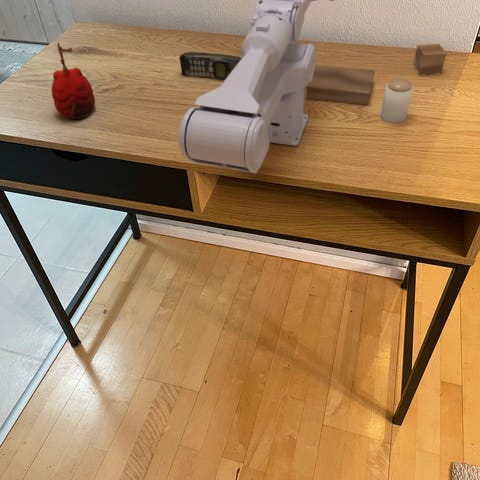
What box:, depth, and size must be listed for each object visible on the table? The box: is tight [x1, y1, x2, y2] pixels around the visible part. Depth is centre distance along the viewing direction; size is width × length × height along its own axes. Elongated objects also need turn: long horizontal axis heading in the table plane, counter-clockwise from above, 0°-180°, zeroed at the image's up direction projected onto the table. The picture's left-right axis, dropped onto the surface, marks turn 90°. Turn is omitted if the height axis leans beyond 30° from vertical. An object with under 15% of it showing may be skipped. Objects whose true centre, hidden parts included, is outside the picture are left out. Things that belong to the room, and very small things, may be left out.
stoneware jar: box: [380, 77, 414, 124], centre depth 91 cm, size 5×5×6 cm
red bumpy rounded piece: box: [50, 42, 96, 120], centre depth 93 cm, size 8×7×15 cm
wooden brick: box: [305, 64, 376, 106], centre depth 99 cm, size 9×12×2 cm
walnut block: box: [412, 43, 447, 76], centre depth 103 cm, size 4×4×4 cm
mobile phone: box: [179, 51, 242, 81], centre depth 105 cm, size 5×3×15 cm
